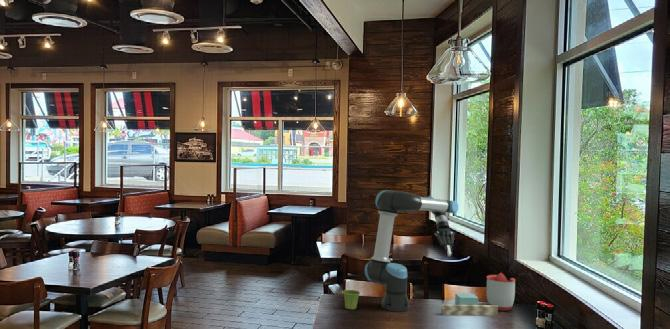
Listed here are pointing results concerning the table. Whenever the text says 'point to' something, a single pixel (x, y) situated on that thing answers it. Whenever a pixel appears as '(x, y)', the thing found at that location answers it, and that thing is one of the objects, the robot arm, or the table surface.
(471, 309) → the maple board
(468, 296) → the teal block
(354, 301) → the plant pot
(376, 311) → the table surface
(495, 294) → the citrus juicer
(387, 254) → the robot arm
